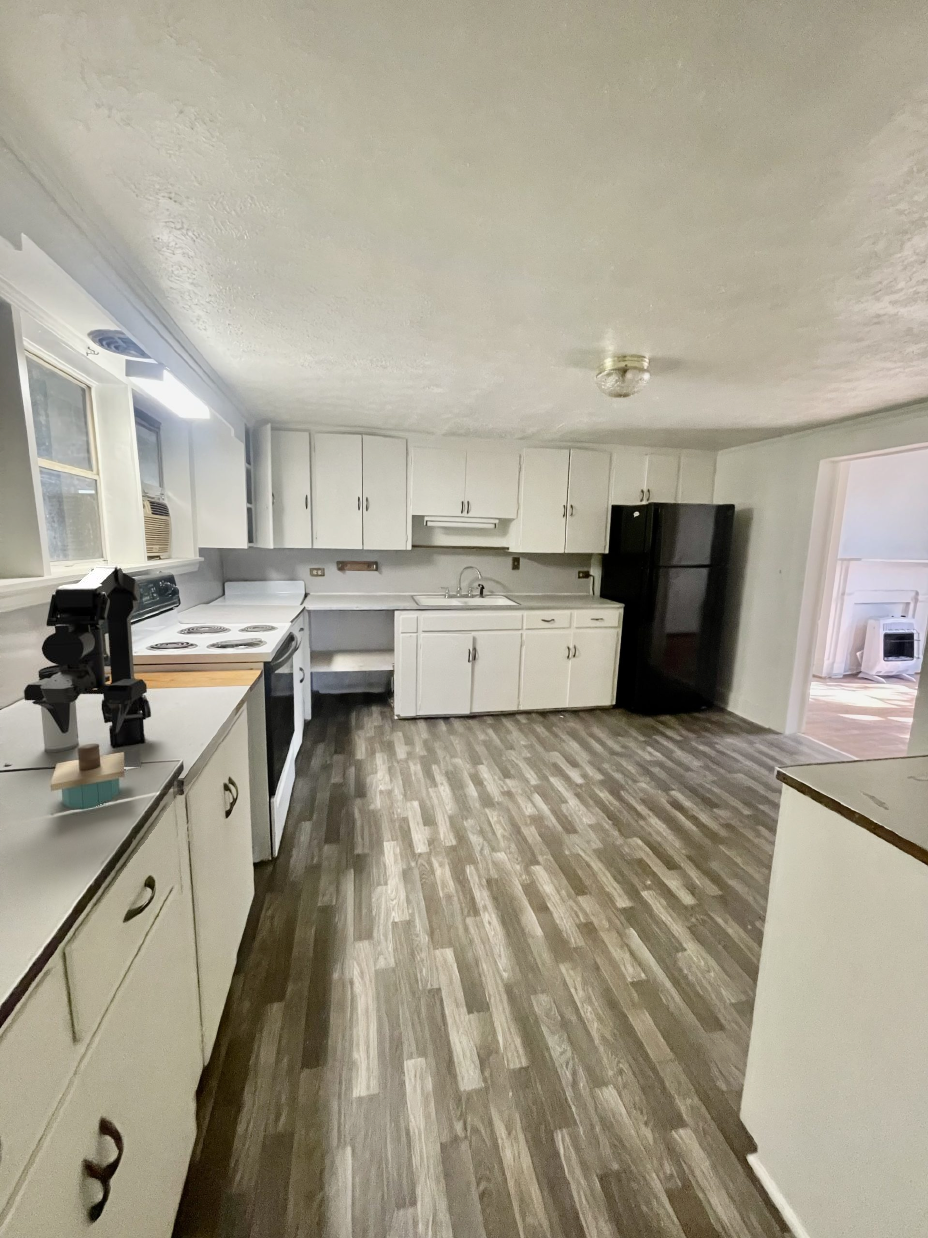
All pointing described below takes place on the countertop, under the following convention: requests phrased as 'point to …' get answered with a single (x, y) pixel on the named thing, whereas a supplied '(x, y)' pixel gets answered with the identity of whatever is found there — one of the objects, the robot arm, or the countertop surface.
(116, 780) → the bowl
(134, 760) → the mat
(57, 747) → the travel mug
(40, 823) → the countertop surface
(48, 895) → the countertop surface
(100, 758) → the lid
